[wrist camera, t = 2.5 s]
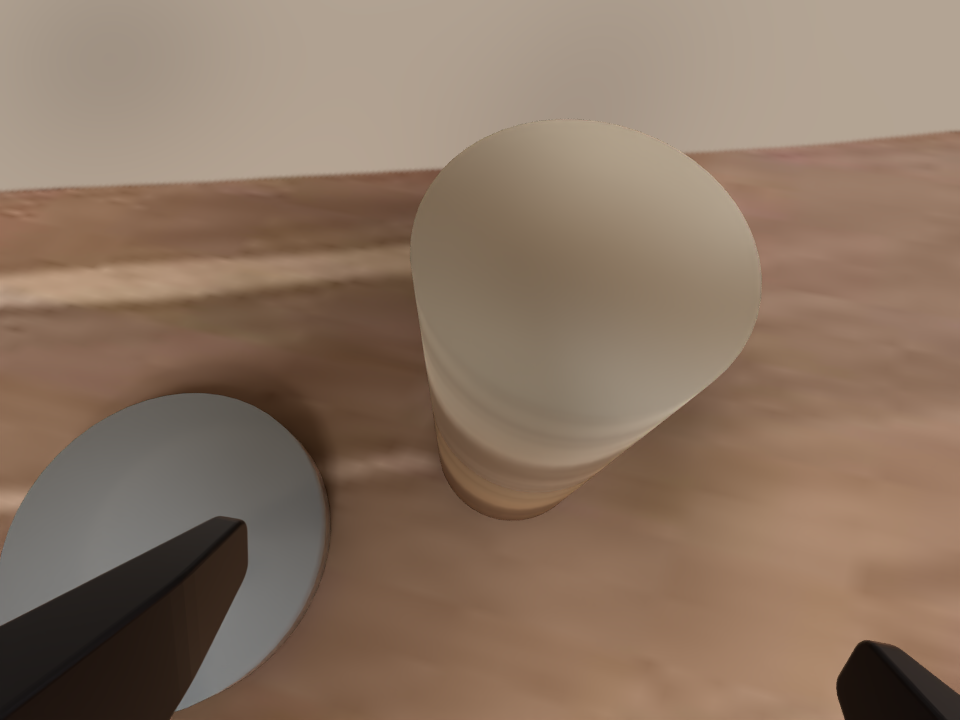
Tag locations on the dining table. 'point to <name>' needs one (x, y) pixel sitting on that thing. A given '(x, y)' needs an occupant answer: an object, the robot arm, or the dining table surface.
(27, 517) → the slate coaster
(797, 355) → the dining table surface
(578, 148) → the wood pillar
